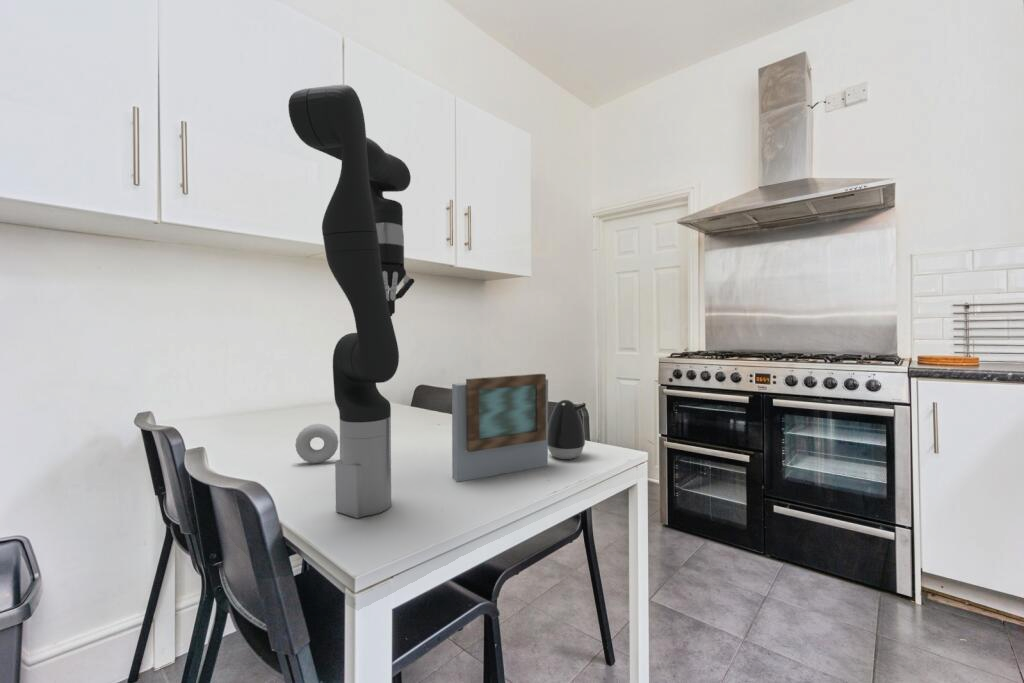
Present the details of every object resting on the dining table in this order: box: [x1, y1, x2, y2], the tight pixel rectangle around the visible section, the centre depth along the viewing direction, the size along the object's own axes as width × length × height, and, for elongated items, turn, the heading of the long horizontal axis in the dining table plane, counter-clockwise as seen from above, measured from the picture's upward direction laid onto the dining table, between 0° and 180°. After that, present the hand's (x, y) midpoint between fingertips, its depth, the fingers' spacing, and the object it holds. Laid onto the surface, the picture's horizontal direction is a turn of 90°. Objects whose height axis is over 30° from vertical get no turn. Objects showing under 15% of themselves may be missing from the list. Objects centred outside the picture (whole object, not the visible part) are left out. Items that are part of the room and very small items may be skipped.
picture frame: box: [465, 373, 547, 452], centre depth 102 cm, size 20×2×16 cm, turn 119°
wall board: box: [451, 378, 549, 482], centre depth 105 cm, size 24×3×22 cm, turn 119°
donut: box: [295, 423, 339, 464], centre depth 111 cm, size 10×4×10 cm, turn 104°
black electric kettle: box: [548, 399, 587, 460], centre depth 117 cm, size 10×10×15 cm
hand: (388, 316), depth 108 cm, fingers closed
